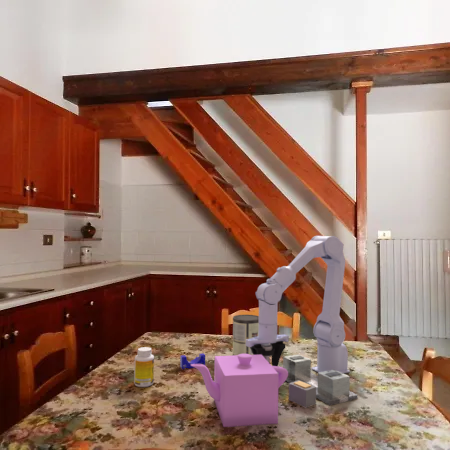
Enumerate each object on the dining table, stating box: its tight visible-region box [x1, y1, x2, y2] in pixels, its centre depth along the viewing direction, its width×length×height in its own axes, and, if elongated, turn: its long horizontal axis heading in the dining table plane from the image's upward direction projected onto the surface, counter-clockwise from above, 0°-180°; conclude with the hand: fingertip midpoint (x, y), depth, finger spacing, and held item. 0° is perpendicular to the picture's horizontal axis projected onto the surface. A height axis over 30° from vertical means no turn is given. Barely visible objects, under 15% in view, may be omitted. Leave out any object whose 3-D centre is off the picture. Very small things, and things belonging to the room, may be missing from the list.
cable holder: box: [179, 352, 206, 370], centre depth 134 cm, size 8×4×4 cm, turn 111°
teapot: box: [191, 354, 288, 428], centre depth 101 cm, size 15×25×14 cm, turn 100°
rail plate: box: [277, 353, 359, 406], centre depth 118 cm, size 10×24×6 cm, turn 28°
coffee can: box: [232, 314, 259, 356], centre depth 146 cm, size 10×10×14 cm
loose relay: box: [288, 380, 317, 409], centre depth 107 cm, size 4×6×5 cm, turn 38°
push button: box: [261, 344, 275, 364], centre depth 123 cm, size 7×5×10 cm
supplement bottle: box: [133, 346, 155, 388], centre depth 118 cm, size 6×6×10 cm
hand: (267, 367), depth 124 cm, fingers closed on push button, 5 cm apart
